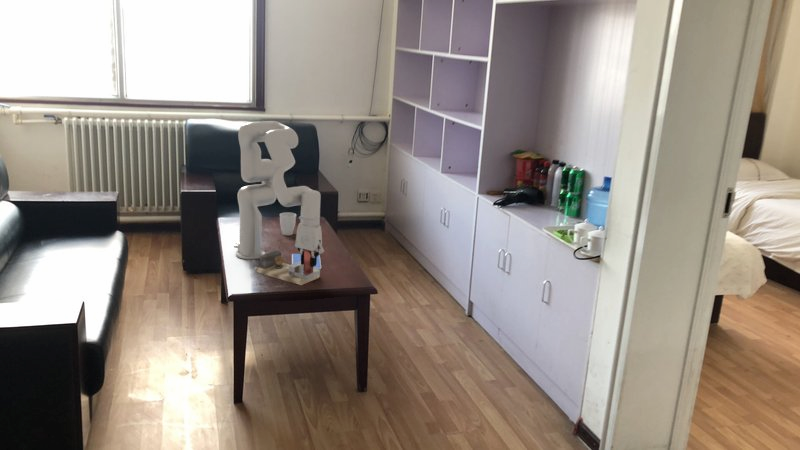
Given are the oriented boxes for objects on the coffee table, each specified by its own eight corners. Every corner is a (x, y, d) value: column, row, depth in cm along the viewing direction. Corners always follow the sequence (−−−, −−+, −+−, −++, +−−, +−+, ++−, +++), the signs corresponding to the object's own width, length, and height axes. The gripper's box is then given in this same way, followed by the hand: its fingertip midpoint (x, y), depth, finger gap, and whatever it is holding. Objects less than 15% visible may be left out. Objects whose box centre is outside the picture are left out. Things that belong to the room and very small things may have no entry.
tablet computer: (291, 256, 306) (291, 253, 306) (319, 256, 308) (320, 253, 308) (291, 270, 288) (291, 267, 288) (321, 270, 290) (321, 267, 290)
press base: (257, 272, 281) (257, 256, 279) (275, 265, 291) (276, 249, 289) (301, 285, 270) (302, 268, 268) (319, 277, 280) (320, 261, 279)
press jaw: (288, 274, 275) (289, 247, 272) (302, 268, 282) (303, 242, 279) (306, 279, 270) (307, 251, 267) (319, 273, 278) (320, 246, 275)
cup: (298, 235, 336) (299, 215, 333) (283, 237, 332) (284, 217, 329) (291, 231, 342) (292, 211, 340) (276, 232, 338) (277, 213, 335)
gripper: (287, 219, 270) (286, 262, 275) (321, 227, 262) (319, 272, 267) (299, 215, 276) (297, 258, 281) (332, 223, 269) (330, 267, 274)
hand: (308, 264), depth 274 cm, fingers closed on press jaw, 4 cm apart
